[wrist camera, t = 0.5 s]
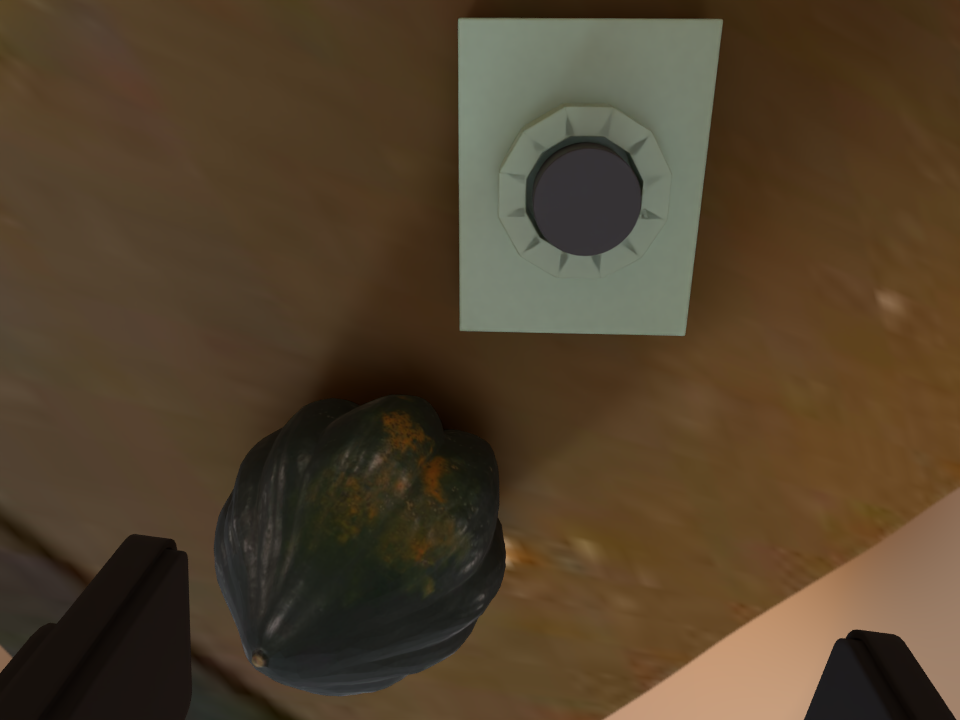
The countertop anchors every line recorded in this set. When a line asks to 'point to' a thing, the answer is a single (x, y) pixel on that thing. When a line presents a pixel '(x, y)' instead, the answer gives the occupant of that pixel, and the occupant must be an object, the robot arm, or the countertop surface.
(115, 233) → the countertop surface
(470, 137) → the knob plate
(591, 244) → the button
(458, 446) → the squash
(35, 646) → the robot arm
